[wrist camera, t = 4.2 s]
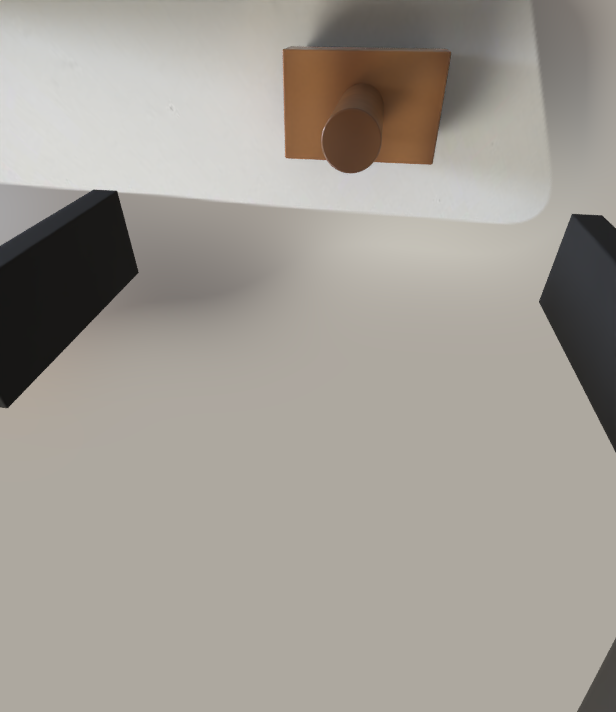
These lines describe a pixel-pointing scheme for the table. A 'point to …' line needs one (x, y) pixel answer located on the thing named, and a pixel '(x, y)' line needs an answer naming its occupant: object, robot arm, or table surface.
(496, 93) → the table surface
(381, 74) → the stamp
